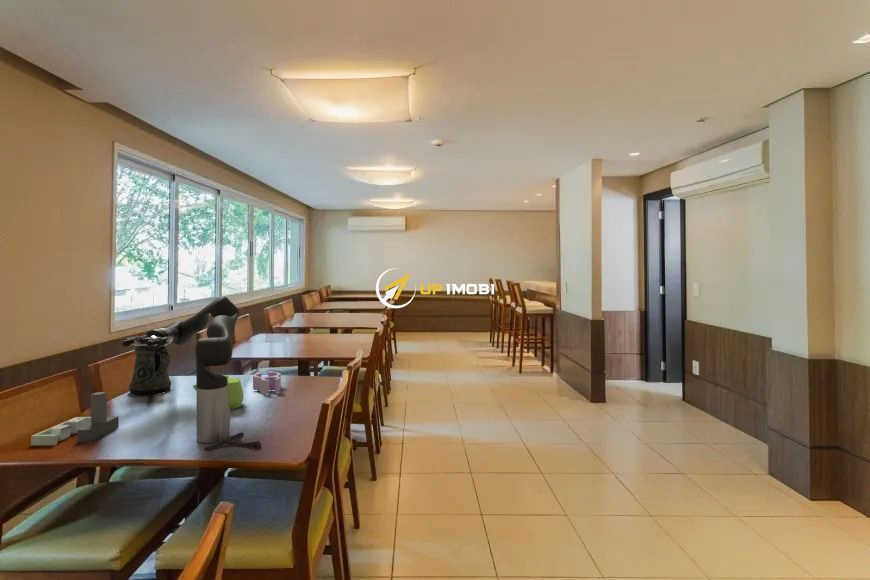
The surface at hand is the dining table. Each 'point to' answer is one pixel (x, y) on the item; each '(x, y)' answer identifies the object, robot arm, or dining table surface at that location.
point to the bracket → (234, 443)
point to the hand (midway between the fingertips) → (136, 343)
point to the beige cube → (75, 424)
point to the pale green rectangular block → (46, 439)
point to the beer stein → (150, 371)
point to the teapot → (233, 392)
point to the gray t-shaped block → (98, 420)
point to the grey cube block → (60, 431)
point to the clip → (267, 382)
